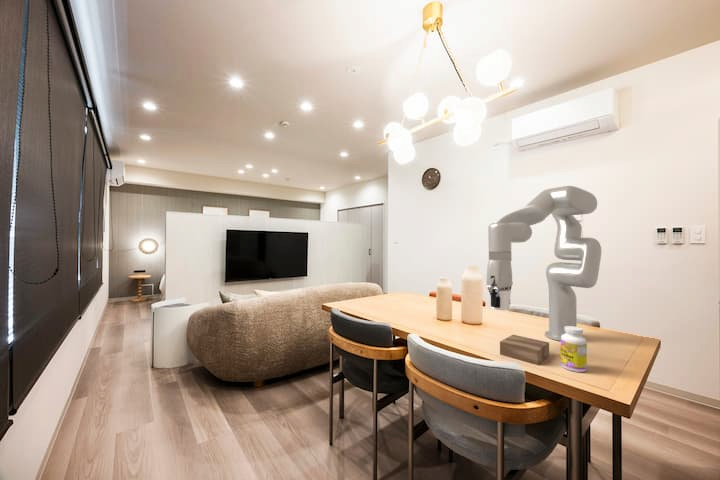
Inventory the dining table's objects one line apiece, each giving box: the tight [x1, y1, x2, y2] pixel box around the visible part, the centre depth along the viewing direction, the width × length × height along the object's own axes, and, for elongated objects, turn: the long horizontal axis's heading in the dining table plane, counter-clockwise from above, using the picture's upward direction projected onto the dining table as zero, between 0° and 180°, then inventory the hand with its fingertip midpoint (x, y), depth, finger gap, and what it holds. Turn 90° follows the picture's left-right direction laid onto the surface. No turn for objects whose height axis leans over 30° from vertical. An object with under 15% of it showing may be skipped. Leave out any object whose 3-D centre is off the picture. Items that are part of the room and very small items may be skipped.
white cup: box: [491, 288, 512, 311], centre depth 106 cm, size 7×7×7 cm
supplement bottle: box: [560, 326, 588, 373], centre depth 92 cm, size 7×7×13 cm
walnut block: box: [499, 334, 550, 366], centre depth 103 cm, size 12×12×5 cm
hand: (500, 305), depth 106 cm, fingers closed on white cup, 6 cm apart
